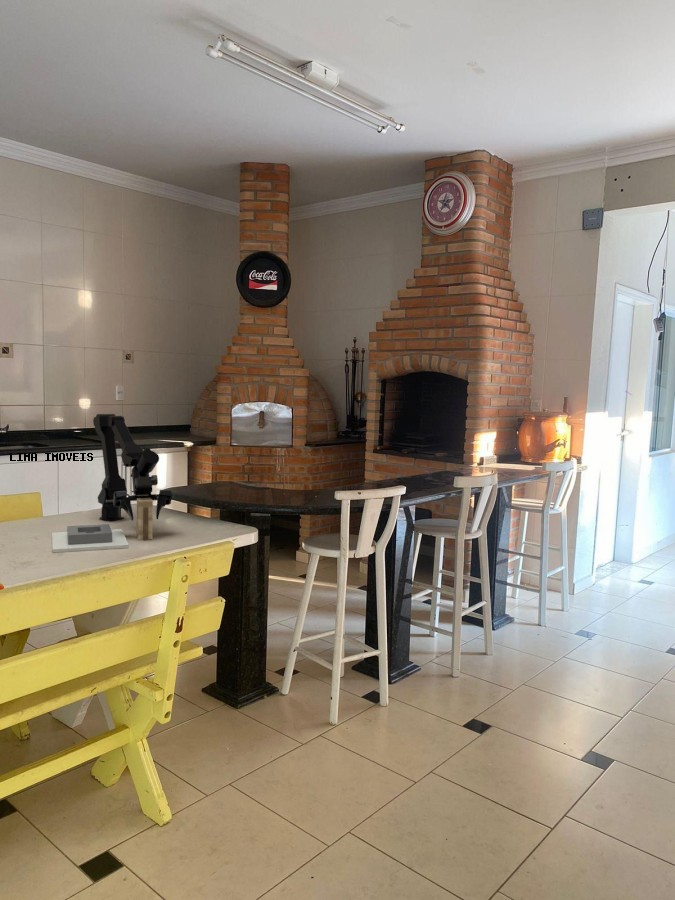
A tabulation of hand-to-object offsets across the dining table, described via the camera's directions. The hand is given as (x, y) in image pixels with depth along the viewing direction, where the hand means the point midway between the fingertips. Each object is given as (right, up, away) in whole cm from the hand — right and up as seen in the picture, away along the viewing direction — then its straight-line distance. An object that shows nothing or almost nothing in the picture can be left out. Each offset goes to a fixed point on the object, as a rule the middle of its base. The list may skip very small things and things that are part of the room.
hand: (145, 519), depth 225 cm
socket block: (-16, -7, -6) cm, 19 cm away
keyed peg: (-1, -6, +2) cm, 7 cm away
